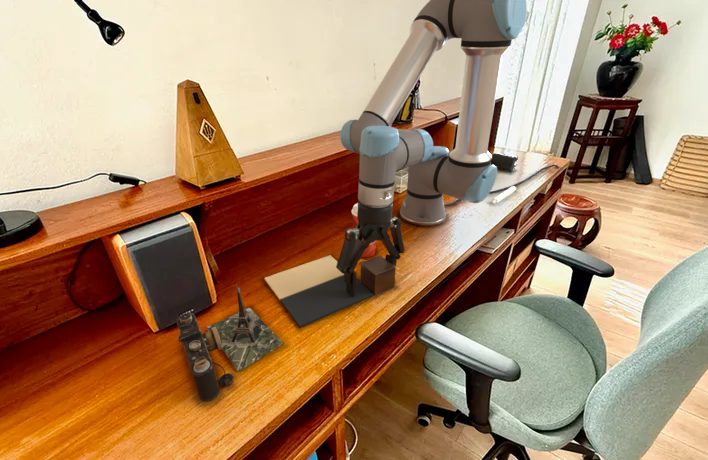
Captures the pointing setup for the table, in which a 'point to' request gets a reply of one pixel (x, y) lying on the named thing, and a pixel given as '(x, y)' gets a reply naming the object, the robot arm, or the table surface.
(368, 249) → the paper cup
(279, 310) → the table surface
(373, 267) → the walnut block
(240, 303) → the eiffel tower figurine
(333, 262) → the sorting mat
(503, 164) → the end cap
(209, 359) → the camera
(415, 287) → the table surface
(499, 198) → the marker
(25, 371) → the table surface
